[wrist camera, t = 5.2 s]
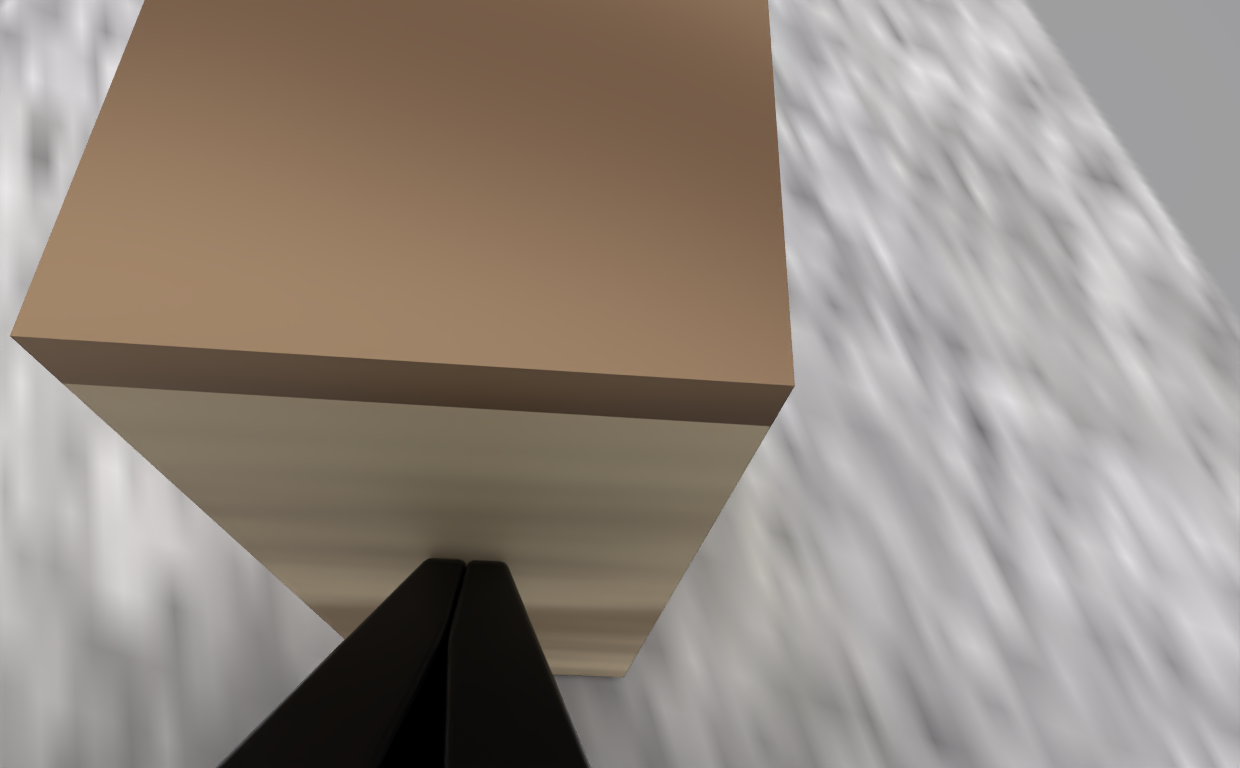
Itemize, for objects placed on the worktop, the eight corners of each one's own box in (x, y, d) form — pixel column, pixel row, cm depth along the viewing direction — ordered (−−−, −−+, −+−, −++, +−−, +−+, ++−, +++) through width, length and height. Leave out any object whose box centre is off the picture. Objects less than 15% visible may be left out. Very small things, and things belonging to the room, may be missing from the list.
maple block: (623, 677, 16) (793, 385, 5) (375, 666, 16) (8, 336, 5) (629, 450, 18) (760, -98, 7) (410, 437, 18) (205, -152, 7)
